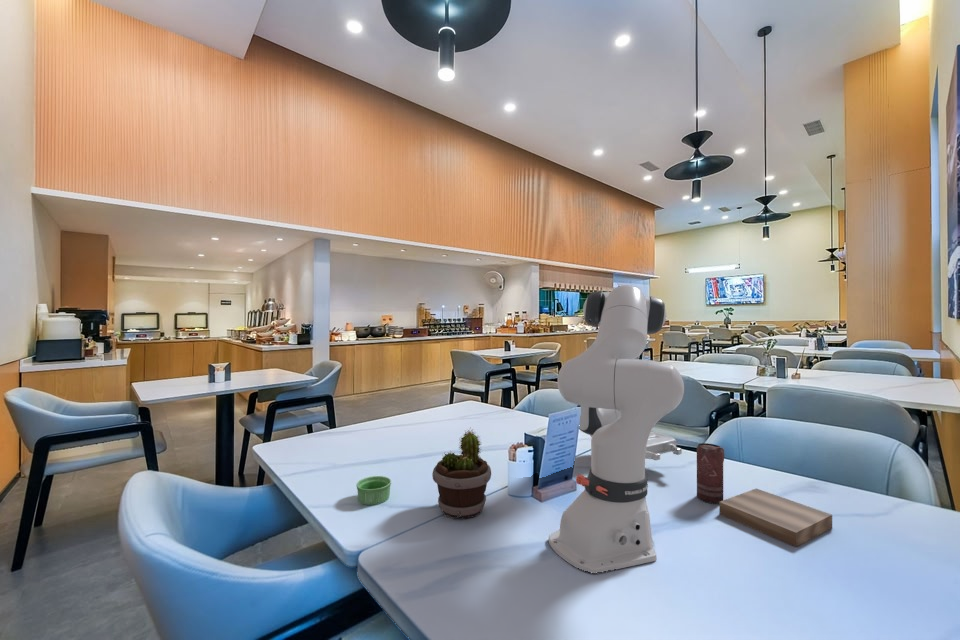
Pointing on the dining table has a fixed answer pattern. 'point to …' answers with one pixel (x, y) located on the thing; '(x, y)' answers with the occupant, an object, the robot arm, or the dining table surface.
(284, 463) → the dining table surface
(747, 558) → the dining table surface
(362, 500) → the ramekin
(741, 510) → the walnut base
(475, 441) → the flowerpot
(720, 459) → the can
